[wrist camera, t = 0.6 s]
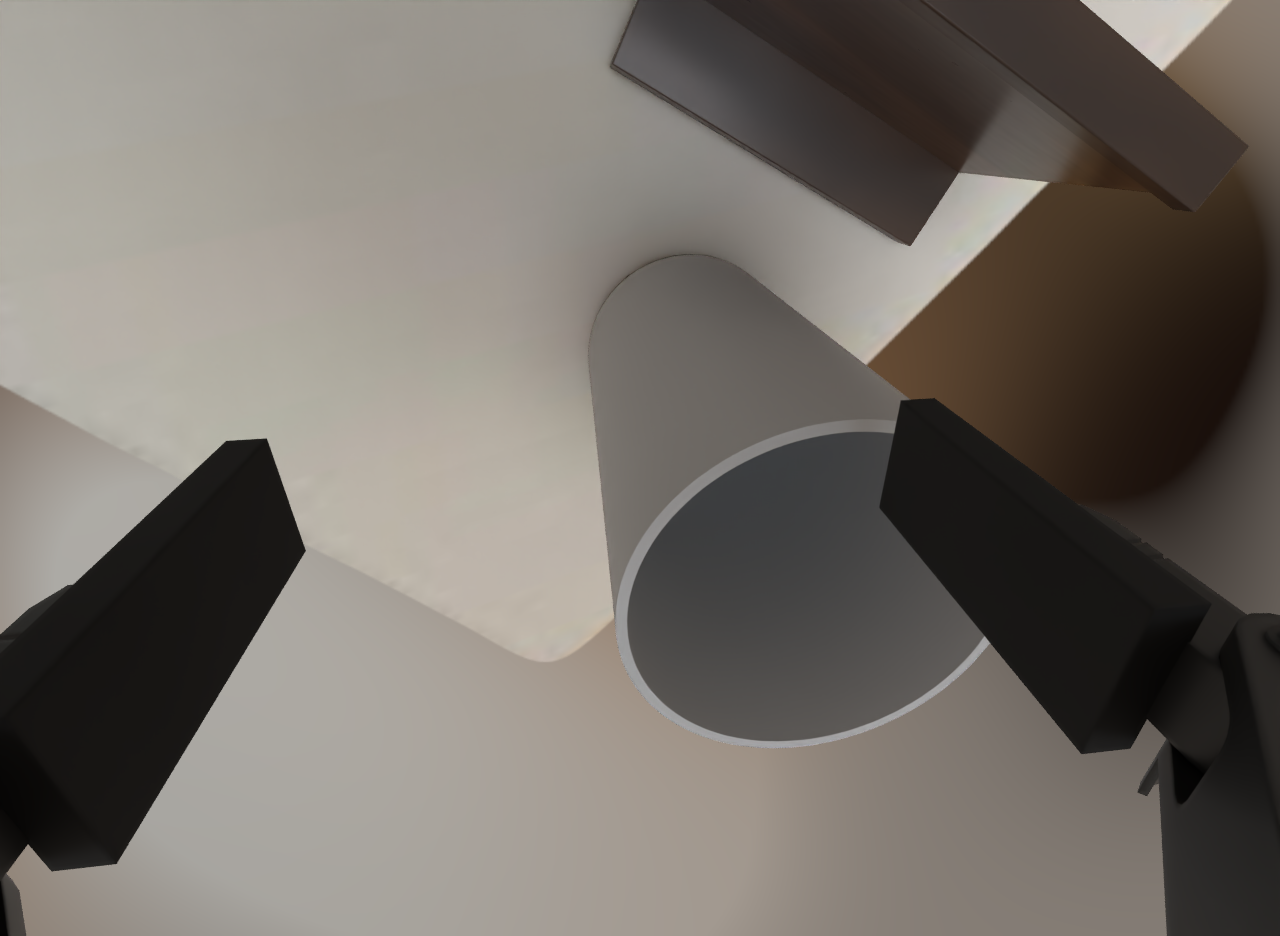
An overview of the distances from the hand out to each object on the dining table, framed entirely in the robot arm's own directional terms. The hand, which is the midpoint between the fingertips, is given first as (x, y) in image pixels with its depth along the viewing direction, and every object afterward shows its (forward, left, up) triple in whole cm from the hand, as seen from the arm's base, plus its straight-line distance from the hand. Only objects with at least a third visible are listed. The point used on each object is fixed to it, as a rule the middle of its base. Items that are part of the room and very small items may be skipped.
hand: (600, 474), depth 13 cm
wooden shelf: (-7, +13, -27) cm, 31 cm away
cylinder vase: (+7, +6, -27) cm, 29 cm away
